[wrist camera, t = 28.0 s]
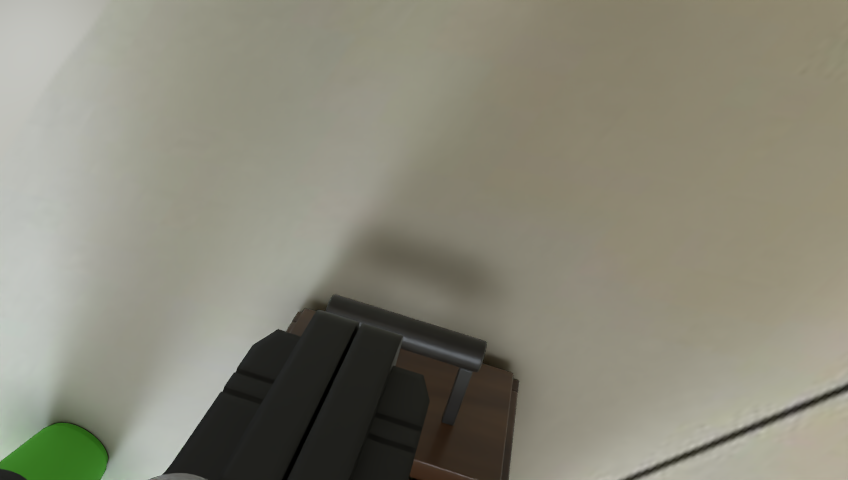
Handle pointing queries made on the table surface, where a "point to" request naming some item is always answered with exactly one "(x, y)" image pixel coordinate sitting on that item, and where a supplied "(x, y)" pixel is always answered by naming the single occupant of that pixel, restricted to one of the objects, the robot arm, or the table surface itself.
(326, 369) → the robot arm
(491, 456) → the drawer
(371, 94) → the table surface
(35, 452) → the cup
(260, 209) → the table surface
